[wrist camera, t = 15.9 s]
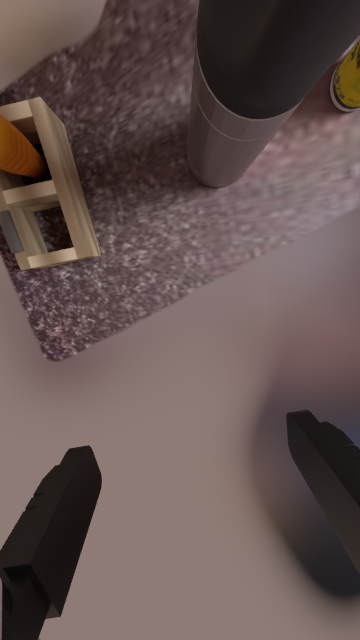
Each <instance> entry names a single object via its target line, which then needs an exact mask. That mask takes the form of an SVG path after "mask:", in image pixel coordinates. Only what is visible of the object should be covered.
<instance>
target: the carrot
mask: <svg viewBox="0 0 360 640" xmlns="http://www.w3.org/2000/svg"><path fill="white" fill-rule="evenodd" d="M0 169H2V170H4V171H7V172H10V173H14V174H18V175H23V176H30V177H41V176H43V175H44V174H45V173H46V165H45V162H44V160H43V158H42V157H41V156H40V154H39V153H38V152H37V151H36V149H35V148H34V147H33V146H32V145H31V143H30V142H29V141H28V140H27V139H26V137H25V136H24V135H23V134H22V133H21V132H20V131H19V130H18V129H17V128H16V127H15V126H14V125H12V124H11V123H10V122H9V121H8V120H7V119H6V118H4V117H3V116H2V115H1V114H0Z"/></svg>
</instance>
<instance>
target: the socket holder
mask: <svg viewBox="0 0 360 640" xmlns="http://www.w3.org/2000/svg"><path fill="white" fill-rule="evenodd" d="M0 114H1V115H2V116H3V117H4V118H6V119H7V120H8V121H9V122H10V123H11V124H12V125H14V126H15V127H16V128H17V129H18V130H19V131H20V132H21V133H22V134H23V135H24V136H25V137H26V139H27V140H28V141H29V142H30V143H31V145H36V144H40V143H41V145H42V148H43V151H44V154H45V157H46V160H47V164H48V167H49V170H50V173H51V176H52V179H53V180H50V181H45V182H41V183H36V184H32V185H27V186H25V185H24V182H23V180H22V177H21V175H18V174H14V173H10V172H7V171H4V170H2V169H0V225H1V228H2V230H3V233H4V236H5V238H6V241H7V243H8V246H9V248H10V251H11V253H14V254H15V257H16V259H17V262H18V264H19V267H20V269H21V270H30V269H40V268H47V267H52V266H56V265H61V264H66V263H71V262H76V261H81V260H85V259H90V258H95V257H100V256H101V253H100V249H99V246H98V242H97V239H96V235H95V232H94V228H93V225H92V221H91V218H90V214H89V211H88V207H87V204H86V200H85V197H84V193H83V190H82V186H81V183H80V179H79V176H78V172H77V169H76V165H75V162H74V158H73V155H72V151H71V148H70V144H69V141H68V137H67V134H66V130H65V127H64V124H63V123H62V122H61V121H60V119H59V118H58V117H57V116H56V115H55V114H54V112H53V111H52V110H51V109H50V108H49V107H48V106H47V104H46V103H45V102H44V101H43V100H42V99H41V98H40V97H38V98H34V99H30V100H26V101H22V102H17V103H13V104H9V105H5V106H1V107H0ZM59 206H61V208H62V211H63V214H64V217H65V221H66V224H67V227H68V230H69V233H70V236H71V240H72V243H73V246H74V247H73V248H68V249H64V250H59V251H54V252H49V253H48V251H47V248H46V245H45V243H44V240H43V237H42V234H41V231H40V228H39V225H38V223H37V220H36V217H35V214H34V212H36V211H41V210H46V209H50V208H55V207H59Z"/></svg>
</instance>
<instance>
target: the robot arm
mask: <svg viewBox="0 0 360 640" xmlns="http://www.w3.org/2000/svg"><path fill="white" fill-rule="evenodd" d="M359 35H360V0H199V9H198V21H197V35H196V46H195V57H194V68H193V81H192V92H191V102H190V113H189V124H188V134H187V145H186V156H187V162H188V165H189V167H190V170H191V172H192V173H193V175H194V176H195V177H196V178H197V179H198V180H199V181H200V182H201V183H203V184H204V185H207V186H210V187H215V188H219V187H225V186H228V185H230V184H232V183H233V182H235V181H236V180H237V179H238V178H240V177H241V176H242V174H243V173H244V172H245V171H246V169H247V168H248V167H249V166H250V165H251V163H252V162H253V161H254V160H255V159H256V157H257V156H258V155H259V154H260V152H261V151H262V150H263V149H264V148H265V146H266V145H267V144H268V143H269V141H270V140H271V139H272V138H273V136H274V135H275V134H276V133H277V132H278V130H279V129H280V128H281V127H282V125H283V124H284V123H285V122H286V121H287V119H288V118H289V117H290V116H291V114H292V113H293V112H294V110H295V109H296V108H297V107H298V106H299V104H300V103H301V102H302V101H303V99H304V98H305V97H306V96H307V95H308V94H309V92H310V91H311V90H312V89H313V88H314V86H315V85H316V84H317V83H318V81H319V80H320V79H321V78H322V77H323V76H324V74H325V73H326V72H327V71H328V70H329V69H330V68H331V66H332V65H333V64H334V63H335V62H336V61H337V60H338V59H339V57H340V56H341V55H342V54H343V53H344V52H345V51H346V50H347V49H348V47H349V46H350V45H351V44H352V43H353V42H354V41H355V39H356V38H357V37H358V36H359ZM286 418H287V436H288V446H289V450H290V453H291V456H292V458H293V460H294V462H295V464H296V465H297V467H298V469H299V471H300V472H301V474H302V476H303V477H304V479H305V481H306V483H307V484H308V486H309V488H310V490H311V491H312V493H313V495H314V496H315V498H316V500H317V502H318V503H319V505H320V507H321V509H322V510H323V512H324V514H325V515H326V517H327V519H328V521H329V522H330V524H331V526H332V528H333V529H334V531H335V533H336V534H337V536H338V538H339V539H340V541H341V543H342V545H343V546H344V548H345V550H346V552H347V553H348V555H349V557H350V559H351V560H352V562H353V564H354V565H355V567H356V569H357V571H358V572H359V574H360V449H359V448H358V447H356V446H355V444H354V443H353V442H352V441H351V440H350V439H349V438H348V437H347V436H346V435H345V433H344V432H343V431H341V430H340V429H338V428H336V427H335V426H333V425H332V424H330V423H328V422H321V423H320V422H319V421H318V420H317V419H316V418H315V417H314V416H313V415H312V413H311V412H310V411H309V410H301V411H295V412H289V413H287V415H286ZM101 484H102V477H101V472H100V469H99V467H98V464H97V461H96V459H95V456H94V453H93V451H92V448H91V447H90V446H83V447H76V448H71V449H69V450H68V451H67V452H66V454H65V456H64V458H63V459H62V461H61V463H60V465H57V466H55V467H54V468H53V469H52V470H51V471H50V472H49V473H48V474H47V475H46V476H45V477H44V478H43V479H42V481H41V483H40V485H39V486H38V488H37V490H36V491H35V493H34V497H33V498H31V500H30V502H29V503H28V505H27V507H26V510H25V511H24V512H23V513H22V515H21V517H20V518H19V520H18V522H17V523H16V525H15V527H14V529H13V530H12V532H11V534H10V535H9V537H8V539H7V540H6V542H5V544H4V545H3V547H2V549H1V550H0V640H40V638H39V635H40V632H41V629H42V626H43V623H44V621H45V619H48V618H55V617H60V616H61V614H62V610H63V607H64V604H65V601H66V598H67V595H68V592H69V589H70V585H71V582H72V579H73V576H74V573H75V569H76V566H77V563H78V560H79V557H80V554H81V551H82V548H83V544H84V541H85V538H86V535H87V532H88V528H89V525H90V522H91V519H92V516H93V513H94V510H95V506H96V503H97V500H98V497H99V494H100V490H101Z"/></svg>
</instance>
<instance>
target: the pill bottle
mask: <svg viewBox="0 0 360 640" xmlns="http://www.w3.org/2000/svg"><path fill="white" fill-rule="evenodd" d="M330 94H331V98H332V101H333V103H334V104H335V106H336V107H337V108H339V109H340V110H342V111H346V112H351V111H355V110H357V109H359V108H360V40H359V41H358V42H357V43H356V44H355V45H354V47H353V48H352V49H351V50H350V51H349V52H348V53H347V55H346V56H345V57H344V58H343V59H342V61H341V62H340V63H339V65H338V66H337V68H336V69H335V71H334V74H333V76H332V79H331V84H330Z"/></svg>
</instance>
